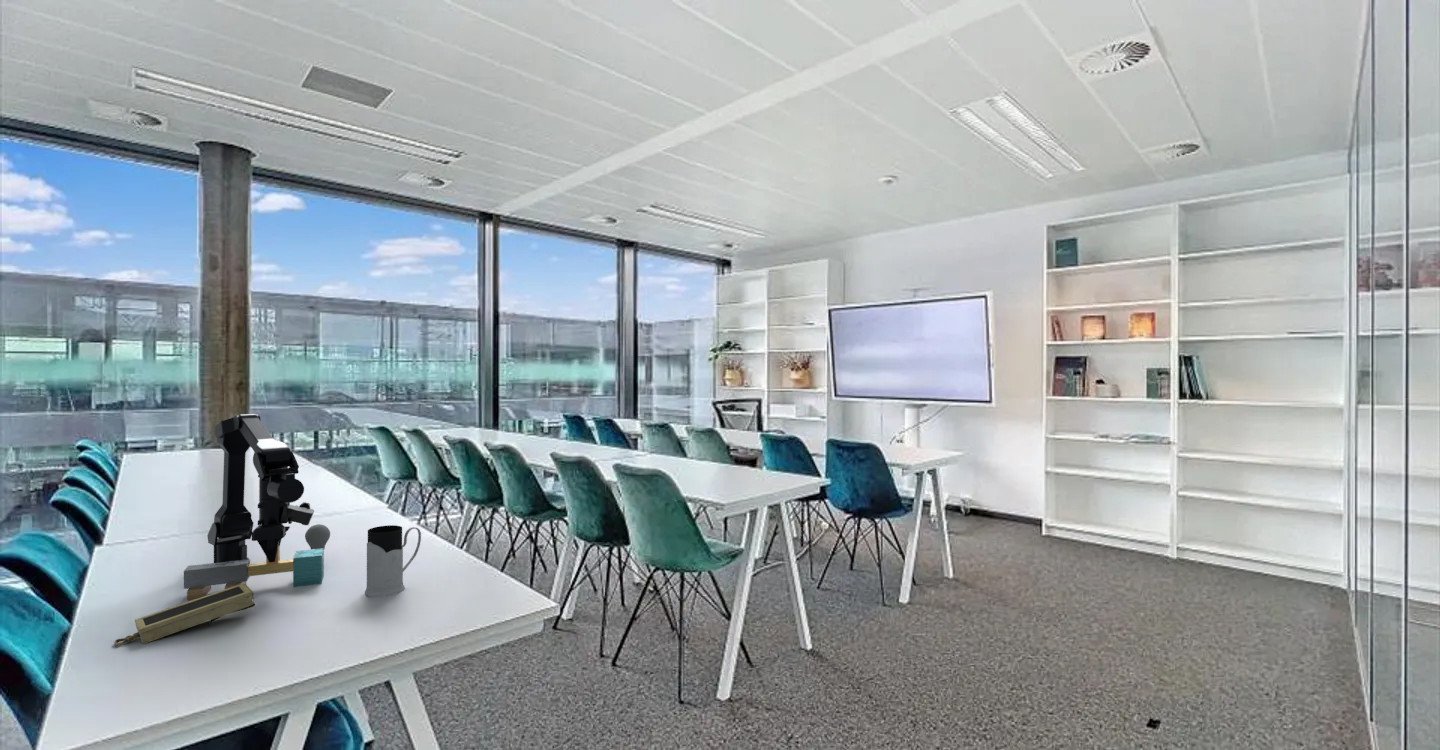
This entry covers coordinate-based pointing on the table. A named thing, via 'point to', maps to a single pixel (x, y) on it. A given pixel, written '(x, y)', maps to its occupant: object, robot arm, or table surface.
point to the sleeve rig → (235, 572)
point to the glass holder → (386, 560)
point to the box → (191, 614)
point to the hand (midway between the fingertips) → (273, 560)
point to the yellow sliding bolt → (270, 566)
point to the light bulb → (317, 536)
